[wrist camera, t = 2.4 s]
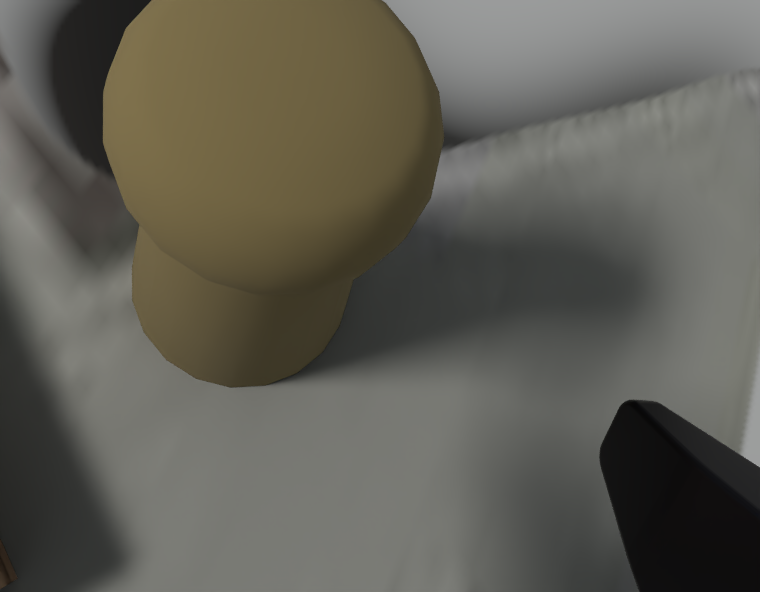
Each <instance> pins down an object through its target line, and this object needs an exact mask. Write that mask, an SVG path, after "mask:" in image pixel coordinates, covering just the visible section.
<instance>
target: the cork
mask: <svg viewBox="0 0 760 592" xmlns="http://www.w3.org/2000/svg"><path fill="white" fill-rule="evenodd" d="M443 139H444V131H443V123H442V115H441V105H440V96H439V91H438V89H437V86H436V84H435V82H434V80H433V77H432V75H431V73H430V71H429V68H428V66H427V64H426V61H425V59H424V57H423V55H422V53H421V50H420V48H419V46H418V44H417V42H416V40H415V38H414V37H413V35H412V34H411V33H410V32H409V30H408V29H407V28H406V27H405V26H404V24H403V23H402V22H401V21H400V20H399V18H398V17H397V16H396V15H395V14H394V13H393V11H392V10H391V9H390V8H389V7H388V5H387V4H386V3H385V2H383V1H382V0H152V1H151V2H150V3H149V4H148V5H147V6H146V7H145V8H144V9H143V10H142V12H141V13H140V14H139V15H138V16H137V17H136V18H135V19H134V20H133V21H132V22H131V23H130V25H129V26H128V27H127V28H126V30H125V32H124V35H123V38H122V40H121V43H120V45H119V48H118V50H117V53H116V55H115V58H114V60H113V63H112V65H111V68H110V70H109V73H108V76H107V80H106V84H105V87H104V92H103V144H104V147H105V150H106V153H107V156H108V159H109V162H110V165H111V168H112V170H113V173H114V176H115V179H116V181H117V184H118V187H119V189H120V192H121V195H122V198H123V200H124V203H125V206H126V208H127V210H128V211H129V212H130V213H131V215H132V216H133V217H134V218H135V220H136V221H137V222H138V223H139V230H138V236H137V242H136V248H135V253H134V259H133V265H132V301H133V303H134V306H135V309H136V312H137V315H138V317H139V320H140V323H141V326H142V328H143V331H144V333H145V334H146V336H147V337H148V338H149V339H150V340H151V342H152V343H153V344H154V345H155V347H156V348H157V349H158V350H159V352H160V353H161V354H162V355H163V356H164V358H165V359H166V360H167V361H169V362H171V363H172V364H174V365H175V366H177V367H178V368H180V369H182V370H183V371H185V372H186V373H188V374H189V375H191V376H193V377H194V378H196V379H199V380H203V381H207V382H211V383H215V384H219V385H223V386H227V387H246V386H263V385H268V384H270V383H273V382H275V381H278V380H280V379H283V378H286V377H288V376H291V375H293V374H296V373H298V372H299V371H300V370H301V369H303V368H304V367H305V366H306V365H308V364H309V363H310V362H311V361H312V360H314V359H315V358H316V357H317V356H319V355H320V354H321V353H322V352H323V351H324V349H325V348H326V346H327V344H328V343H329V341H330V340H331V338H332V337H333V335H334V333H335V332H336V330H337V329H338V327H339V326H340V323H341V319H342V316H343V313H344V310H345V306H346V303H347V300H348V297H349V293H350V290H351V287H352V283H353V280H354V279H355V278H358V277H360V276H361V275H362V274H363V273H365V272H366V271H367V270H368V269H370V268H371V267H372V266H374V265H375V264H376V263H377V262H379V261H380V260H381V259H382V258H384V257H385V256H386V255H388V254H389V253H390V252H391V251H393V250H394V249H395V248H396V247H397V246H398V245H399V244H400V243H401V242H402V241H403V240H404V239H405V238H406V237H407V235H408V233H409V232H410V230H411V229H412V227H413V225H414V224H415V222H416V221H417V219H418V218H419V216H420V214H421V213H422V211H423V210H424V208H425V206H426V205H427V203H428V202H429V200H430V198H431V195H432V190H433V186H434V181H435V176H436V172H437V167H438V163H439V158H440V154H441V149H442V144H443Z"/></svg>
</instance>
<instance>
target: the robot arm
mask: <svg viewBox="0 0 760 592" xmlns="http://www.w3.org/2000/svg"><path fill="white" fill-rule="evenodd" d="M599 458H600V465H601V469H602V473H603V476H604V479H605V483H606V486H607V490H608V493H609V496H610V500H611V503H612V507H613V510H614V514H615V517H616V520H617V524H618V527H619V531H620V534H621V538H622V541H623V544H624V548H625V551H626V555H627V558H628V561H629V564H630V567H631V570H632V573H633V576H634V578H635V581H636V584H637V586H638V589H639V592H760V467H758V466H757V465H755V464H754V463H752V462H750V461H749V460H747V459H746V458H744V457H743V456H741V455H740V454H738V453H736V452H735V451H733V450H732V449H730V448H729V447H727V446H726V445H724V444H722V443H721V442H719V441H718V440H716V439H715V438H713V437H712V436H710V435H708V434H707V433H705V432H704V431H702V430H701V429H699V428H697V427H696V426H694V425H693V424H691V423H690V422H688V421H687V420H685V419H683V418H682V417H680V416H679V415H677V414H676V413H674V412H673V411H671V410H669V409H668V408H666V407H665V406H663V405H662V404H660V403H658V402H655V401H645V400H628V401H625V402H624V403H623V404H622V405H621V406H620V407H619V409H618V411H617V413H616V415H615V417H614V419H613V421H612V424H611V426H610V428H609V430H608V432H607V434H606V436H605V438H604V440H603V442H602V445H601V448H600V456H599Z"/></svg>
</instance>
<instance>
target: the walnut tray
mask: <svg viewBox="0 0 760 592" xmlns="http://www.w3.org/2000/svg"><path fill="white" fill-rule="evenodd" d="M16 579H18V578H17V576H16V574H15V571H14V569H13V567H12V564H11V562H10V560H9V558H8V555H7V553H6V551H5V548H4V546H3V544H2V542H1V539H0V589H1V588H3V587H5V586H6V585H8V584H9V583H11V582H13V581H14V580H16Z"/></svg>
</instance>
